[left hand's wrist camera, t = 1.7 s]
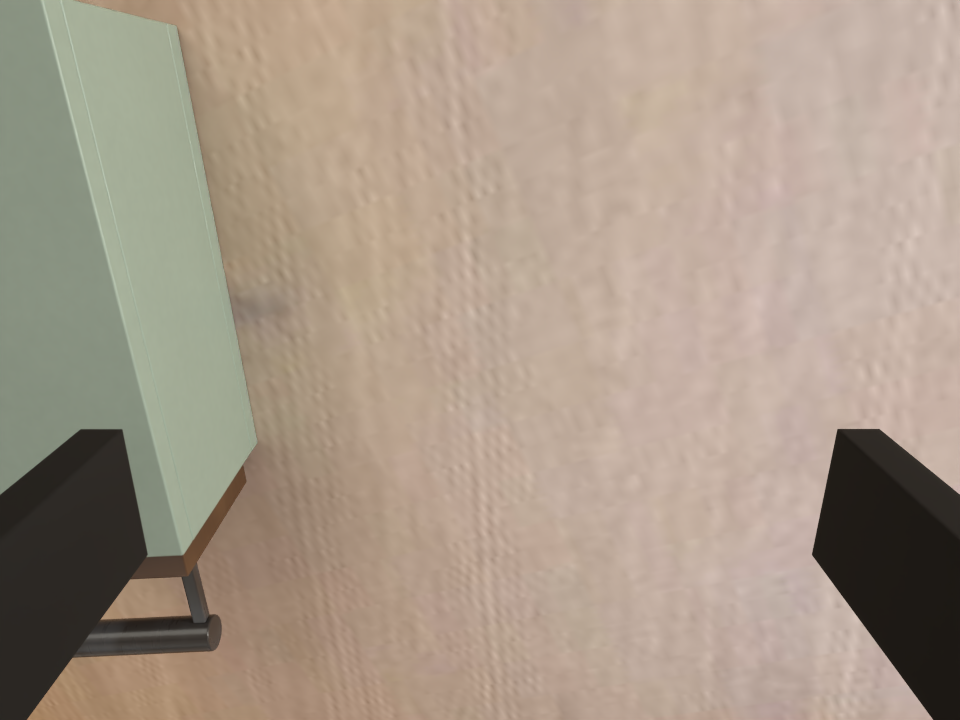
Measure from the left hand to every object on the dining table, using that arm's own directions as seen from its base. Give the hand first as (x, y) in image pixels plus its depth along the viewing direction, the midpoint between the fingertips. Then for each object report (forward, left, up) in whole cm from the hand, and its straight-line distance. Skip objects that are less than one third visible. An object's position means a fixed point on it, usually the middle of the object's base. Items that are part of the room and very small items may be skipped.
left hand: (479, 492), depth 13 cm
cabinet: (+2, -18, -22) cm, 29 cm away
